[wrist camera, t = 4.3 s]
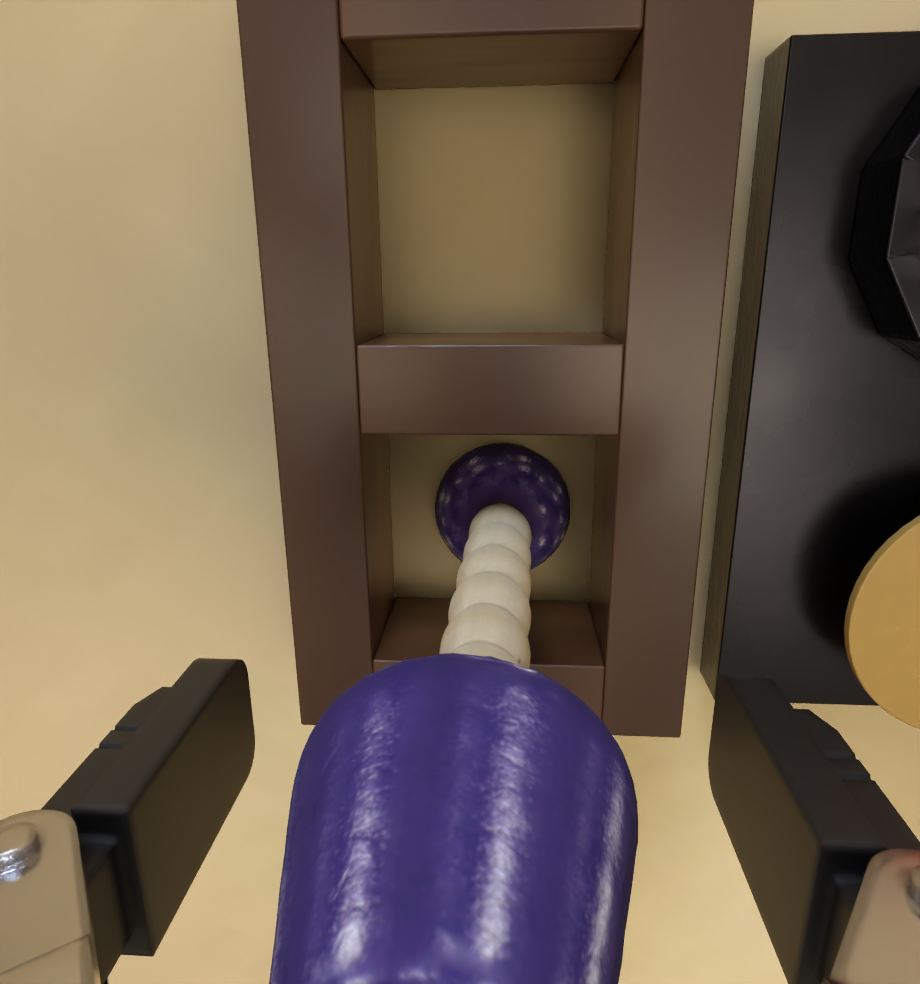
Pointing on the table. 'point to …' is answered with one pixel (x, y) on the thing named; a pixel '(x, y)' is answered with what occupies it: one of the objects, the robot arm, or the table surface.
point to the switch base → (820, 362)
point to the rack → (496, 356)
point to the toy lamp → (464, 785)
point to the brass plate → (888, 625)
